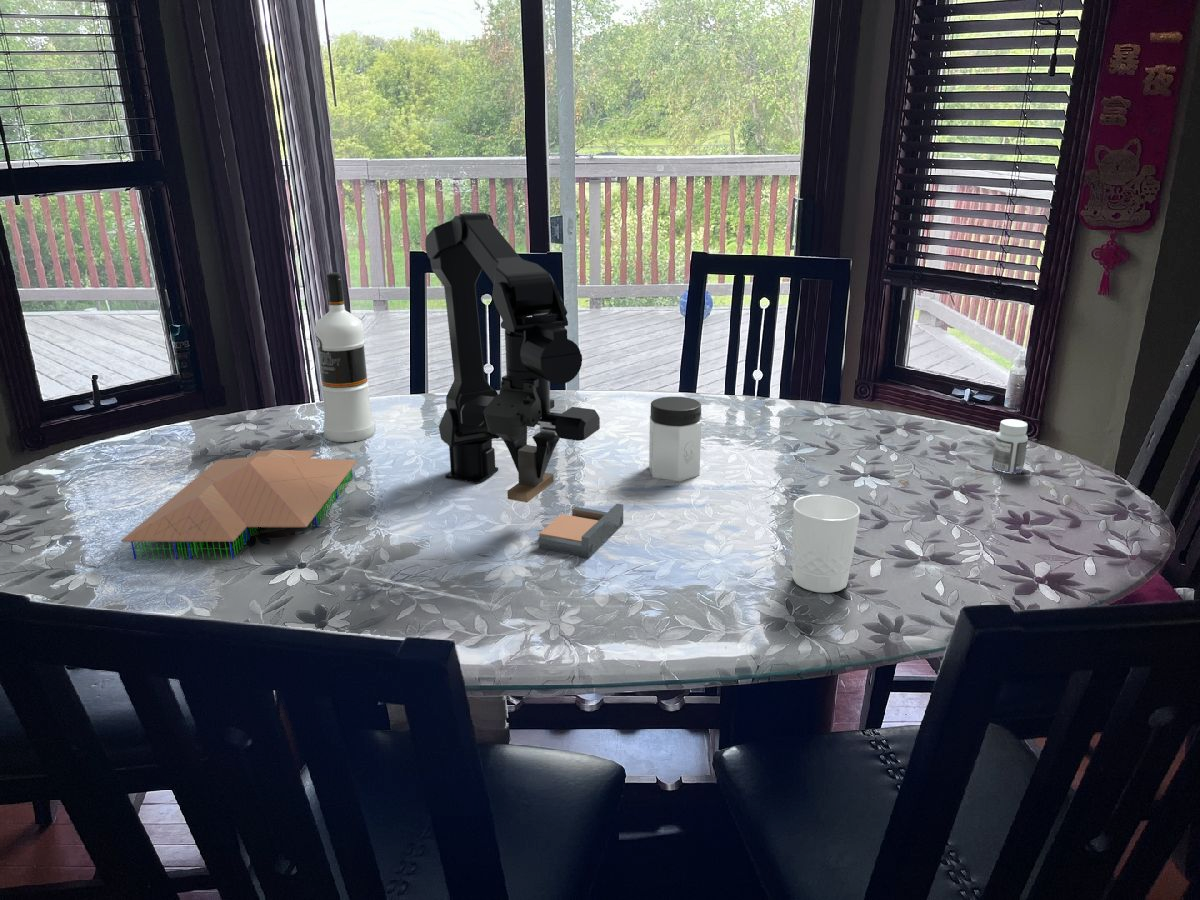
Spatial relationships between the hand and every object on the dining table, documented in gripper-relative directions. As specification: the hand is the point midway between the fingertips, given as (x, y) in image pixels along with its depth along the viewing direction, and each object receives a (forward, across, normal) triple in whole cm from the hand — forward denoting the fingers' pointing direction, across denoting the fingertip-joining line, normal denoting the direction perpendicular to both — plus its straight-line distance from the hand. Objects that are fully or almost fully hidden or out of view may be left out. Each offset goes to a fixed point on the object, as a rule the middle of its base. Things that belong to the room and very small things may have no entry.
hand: (531, 475), depth 124 cm
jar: (+8, +11, +28) cm, 31 cm away
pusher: (+2, 0, 0) cm, 2 cm away
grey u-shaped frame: (+8, +8, 0) cm, 11 cm away
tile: (+8, +6, 0) cm, 11 cm away
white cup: (+8, +40, 0) cm, 41 cm away
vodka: (+8, -50, +22) cm, 55 cm away
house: (+8, -40, -11) cm, 43 cm away
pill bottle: (+8, +61, +50) cm, 80 cm away
